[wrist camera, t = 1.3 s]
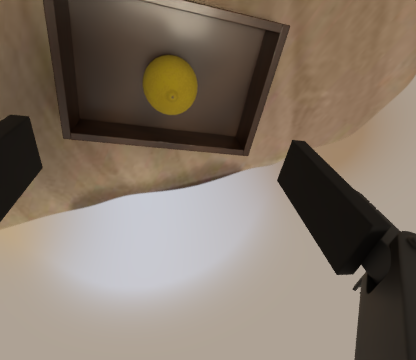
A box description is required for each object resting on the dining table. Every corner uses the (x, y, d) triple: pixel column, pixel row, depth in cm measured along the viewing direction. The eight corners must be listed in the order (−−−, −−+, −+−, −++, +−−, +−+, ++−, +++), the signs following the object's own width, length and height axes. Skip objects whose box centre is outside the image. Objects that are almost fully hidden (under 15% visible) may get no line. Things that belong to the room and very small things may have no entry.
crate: (74, 123, 30) (63, 138, 26) (56, -30, 22) (37, -37, 18) (239, 141, 35) (248, 156, 32) (273, 22, 27) (290, 25, 24)
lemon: (179, 108, 31) (185, 135, 24) (136, 86, 28) (130, 110, 22) (201, 66, 28) (214, 84, 22) (156, 38, 26) (156, 49, 20)
